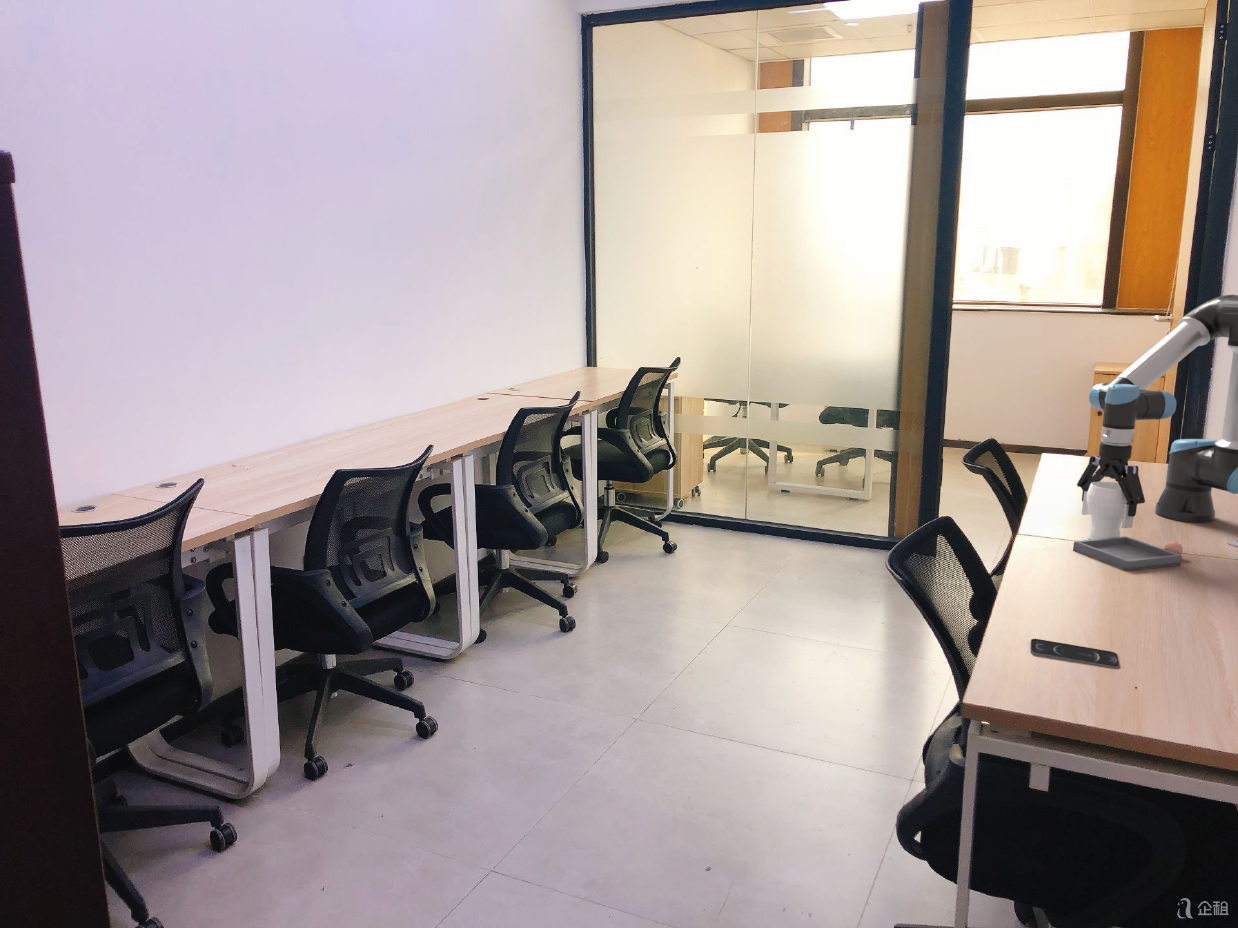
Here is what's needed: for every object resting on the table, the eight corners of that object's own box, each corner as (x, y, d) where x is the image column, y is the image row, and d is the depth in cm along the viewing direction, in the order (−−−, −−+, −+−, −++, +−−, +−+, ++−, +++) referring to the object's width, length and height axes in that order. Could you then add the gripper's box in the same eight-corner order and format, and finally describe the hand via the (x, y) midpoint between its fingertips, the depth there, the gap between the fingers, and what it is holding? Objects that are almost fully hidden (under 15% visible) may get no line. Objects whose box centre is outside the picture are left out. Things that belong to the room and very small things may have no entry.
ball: (1171, 553, 237) (1173, 539, 236) (1185, 558, 233) (1187, 543, 232) (1159, 555, 236) (1161, 540, 235) (1173, 560, 232) (1175, 544, 231)
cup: (1131, 546, 243) (1139, 491, 240) (1088, 543, 245) (1094, 489, 242) (1118, 535, 253) (1125, 482, 250) (1077, 532, 255) (1083, 479, 252)
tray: (1124, 545, 244) (1125, 536, 244) (1180, 564, 228) (1182, 555, 228) (1073, 550, 239) (1074, 541, 239) (1126, 570, 223) (1127, 561, 223)
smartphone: (1120, 667, 168) (1030, 651, 174) (1119, 672, 169) (1030, 656, 174) (1117, 652, 175) (1031, 637, 181) (1116, 656, 175) (1030, 641, 181)
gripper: (1068, 435, 254) (1060, 509, 258) (1144, 453, 230) (1133, 534, 235) (1090, 434, 256) (1081, 508, 260) (1167, 451, 233) (1156, 532, 237)
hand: (1106, 520), depth 248 cm, fingers open, 13 cm apart
